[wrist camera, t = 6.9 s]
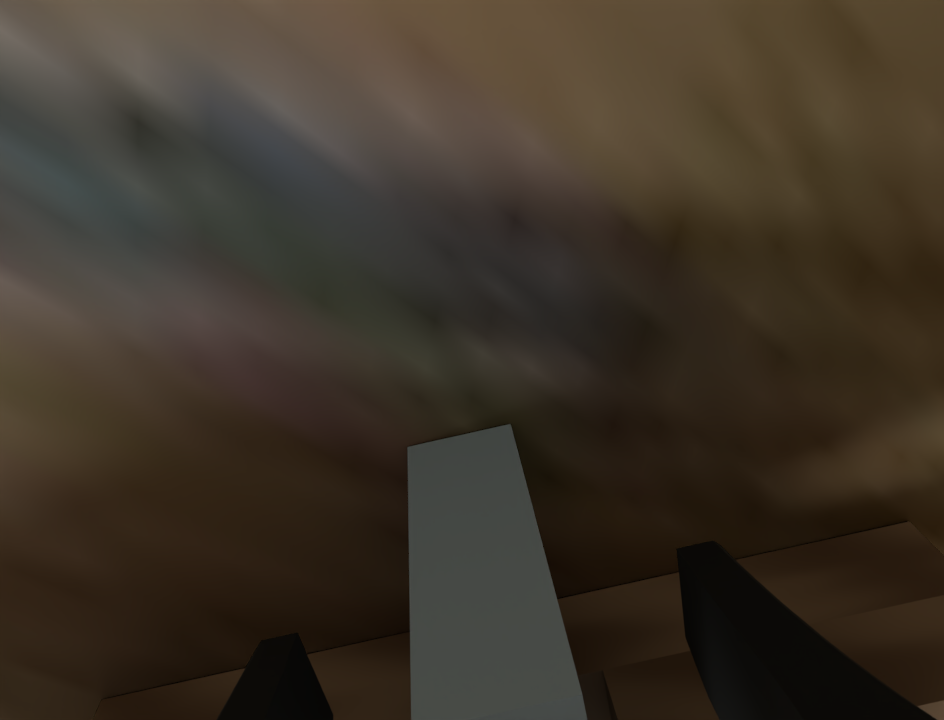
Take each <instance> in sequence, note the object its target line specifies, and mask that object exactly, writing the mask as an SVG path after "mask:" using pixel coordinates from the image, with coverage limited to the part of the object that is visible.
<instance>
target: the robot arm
mask: <svg viewBox="0 0 944 720" xmlns="http://www.w3.org/2000/svg"><path fill="white" fill-rule="evenodd" d="M677 558H678V568H679V578H680V589H681V599H682V609H683V619H684V629H685V638H686V640H687V643H688V646H689V648H690V651H691V654H692V656H693V659H694V662H695V664H696V667H697V670H698V672H699V675H700V677H701V680H702V682H703V685H704V687H705V690H706V692H707V695H708V698H709V700H710V702H711V704H712V706H713V708H714V710H715V712H716V714H717V716H718V718H719V720H937V719H936V718H934V717H933V716H931V715H930V714H928V713H927V712H925V711H924V710H922V709H921V708H919V707H917V706H916V705H914V704H913V703H912V702H910V701H909V700H907V699H906V698H904V697H903V696H901V695H900V694H899V693H897V692H896V691H894V690H893V689H891V688H890V687H889V686H887V685H886V684H884V683H883V682H882V681H880V680H879V679H877V678H876V677H875V676H873V675H872V674H871V673H869V672H868V671H867V670H865V669H864V668H863V667H861V666H860V665H859V664H857V663H856V662H855V661H853V660H852V659H851V658H849V657H848V656H847V655H845V654H844V653H843V652H842V651H840V650H839V649H838V648H837V647H835V646H834V645H833V644H831V643H830V642H829V641H828V640H826V639H825V638H824V637H823V636H822V635H820V634H819V633H818V632H817V631H815V630H814V629H813V628H812V627H811V626H809V625H808V624H807V623H806V622H805V621H803V620H802V619H801V618H800V617H799V616H797V615H796V614H795V613H794V612H792V611H791V610H790V609H789V608H788V607H787V606H786V605H784V604H783V603H782V602H781V601H780V600H779V599H777V598H776V597H775V596H774V595H773V594H772V593H771V592H770V591H769V590H767V589H766V588H765V587H764V586H763V585H762V584H761V583H760V582H758V581H757V580H756V579H755V578H754V577H753V576H752V575H751V574H750V573H749V572H748V571H747V570H746V569H744V568H743V567H742V566H741V565H740V564H739V563H738V562H737V561H736V560H735V559H734V558H733V557H732V556H731V555H730V554H729V553H728V552H727V551H726V550H725V549H724V548H723V547H722V546H721V545H719V544H718V543H716V542H715V541H710V542H705V543H700V544H696V545H691V546H687V547H682V548H678V549H677ZM216 720H333V713H332V710H331V708H330V706H329V703H328V701H327V699H326V697H325V694H324V692H323V690H322V687H321V685H320V683H319V681H318V678H317V676H316V674H315V671H314V669H313V667H312V665H311V662H310V660H309V658H308V656H307V653H306V651H305V649H304V646H303V644H302V642H301V640H300V637H299V635H298V633H294V634H289V635H285V636H280V637H276V638H271V639H267V640H262V641H261V642H260V644H259V645H258V647H257V648H256V650H255V652H254V654H253V655H252V657H251V659H250V661H249V662H248V664H247V666H246V668H245V670H244V671H243V673H242V675H241V677H240V679H239V680H238V682H237V684H236V686H235V688H234V689H233V691H232V693H231V695H230V696H229V698H228V700H227V702H226V704H225V705H224V707H223V709H222V711H221V712H220V714H219V716H218V718H217V719H216Z"/></svg>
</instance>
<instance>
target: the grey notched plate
mask: <svg viewBox="0 0 944 720" xmlns="http://www.w3.org/2000/svg"><path fill="white" fill-rule="evenodd" d="M407 450H408V523H409V596H410V668H411V720H587V715H586V710H585V705H584V700H583V695H582V691H581V688H580V684H579V680H578V676H577V672H576V669H575V665H574V661H573V657H572V654H571V650H570V646H569V642H568V639H567V635H566V631H565V627H564V623H563V620H562V616H561V612H560V608H559V605H558V601H557V597H556V593H555V589H554V586H553V582H552V578H551V574H550V571H549V567H548V563H547V559H546V555H545V552H544V548H543V544H542V540H541V537H540V533H539V529H538V525H537V522H536V518H535V514H534V510H533V506H532V503H531V499H530V495H529V491H528V488H527V484H526V480H525V476H524V472H523V469H522V465H521V461H520V457H519V454H518V450H517V446H516V442H515V438H514V435H513V431H512V427H511V424H508V425H503V426H499V427H494V428H490V429H485V430H481V431H476V432H472V433H467V434H463V435H459V436H454V437H450V438H445V439H441V440H436V441H432V442H427V443H423V444H418V445H414V446H409V447H407Z"/></svg>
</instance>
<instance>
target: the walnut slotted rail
mask: <svg viewBox="0 0 944 720" xmlns="http://www.w3.org/2000/svg"><path fill="white" fill-rule="evenodd" d="M736 561H737V562H738V563H739V564H740V565H741V566H742V567H743V568H744V569H746V570H747V571H748V572H749V573H750V574H751V575H752V576H753V577H754V578H755V579H756V580H757V581H758V582H760V583H761V584H762V585H763V586H764V587H765V588H766V589H767V590H769V591H770V592H771V593H772V594H773V595H774V596H775V597H776V598H777V599H779V600H780V601H781V602H782V603H783V604H784V605H786V606H787V607H788V608H789V609H790V610H791V611H792V612H794V613H795V614H796V615H797V616H799V617H800V618H801V619H802V620H803V621H805V622H806V623H807V624H808V625H809V626H811V627H812V628H813V629H814V630H815V631H817V632H818V633H819V634H820V635H822V636H823V637H824V638H825V639H826V640H828V641H829V642H830V643H831V644H833V645H834V646H835V647H837V648H838V649H839V650H840V651H842V652H843V653H844V654H845V655H847V656H848V657H849V658H851V659H852V660H853V661H855V662H856V663H857V664H859V665H860V666H861V667H863V668H864V669H865V670H867V671H868V672H869V673H871V674H872V675H873V676H875V677H876V678H877V679H879V680H880V681H882V682H883V683H884V684H886V685H887V686H889V687H890V688H891V689H893V690H894V691H896V692H897V693H899V694H900V695H901V696H903V697H904V698H906V699H907V700H909V701H910V702H912V703H913V704H914V705H916V706H917V707H919V708H921V709H922V710H924V711H925V712H927V713H928V714H930V715H931V716H933V717H934V718H936V719H937V720H944V555H943V554H942V553H941V552H940V551H939V550H938V549H937V548H936V547H935V546H934V545H933V544H932V543H931V542H930V541H929V540H928V539H927V538H926V537H925V536H924V535H923V534H922V533H921V532H920V531H919V530H918V529H917V528H916V527H915V526H914V525H913V524H912V523H911V522H910V521H909V522H905V523H900V524H896V525H891V526H886V527H882V528H877V529H873V530H868V531H864V532H859V533H855V534H850V535H846V536H841V537H837V538H832V539H828V540H823V541H819V542H814V543H809V544H805V545H800V546H796V547H791V548H787V549H782V550H778V551H773V552H769V553H764V554H760V555H755V556H751V557H746V558H742V559H737V560H736ZM557 601H558V605H559V608H560V612H561V616H562V620H563V623H564V627H565V631H566V635H567V639H568V642H569V646H570V650H571V654H572V657H573V661H574V665H575V669H576V672H577V676H578V680H579V684H580V688H581V691H582V695H583V700H584V705H585V710H586V715H587V720H719V718H718V716H717V714H716V712H715V710H714V708H713V706H712V704H711V702H710V700H709V698H708V695H707V692H706V690H705V687H704V685H703V682H702V680H701V677H700V675H699V672H698V670H697V667H696V664H695V662H694V659H693V656H692V654H691V651H690V648H689V646H688V643H687V640H686V638H685V629H684V619H683V609H682V599H681V589H680V578H679V572H678V573H674V574H669V575H665V576H660V577H656V578H651V579H646V580H642V581H637V582H633V583H628V584H624V585H619V586H615V587H610V588H606V589H601V590H597V591H592V592H588V593H583V594H579V595H574V596H569V597H565V598H560V599H557ZM307 656H308V658H309V660H310V662H311V665H312V667H313V669H314V671H315V674H316V676H317V678H318V681H319V683H320V685H321V687H322V690H323V692H324V694H325V697H326V699H327V701H328V703H329V706H330V708H331V710H332V713H333V720H411V668H410V632H406V633H402V634H397V635H393V636H388V637H384V638H379V639H375V640H370V641H366V642H361V643H357V644H352V645H348V646H343V647H339V648H334V649H329V650H325V651H320V652H316V653H311V654H307ZM244 670H245V668H243V669H239V670H234V671H230V672H225V673H221V674H216V675H212V676H207V677H203V678H198V679H194V680H189V681H185V682H180V683H176V684H171V685H166V686H162V687H157V688H153V689H148V690H144V691H139V692H135V693H130V694H126V695H121V696H117V697H112V698H108V699H103V700H101V702H100V704H99V707H98V709H97V711H96V714H95V716H94V718H93V720H216V719H217V718H218V716H219V714H220V712H221V711H222V709H223V707H224V705H225V704H226V702H227V700H228V698H229V696H230V695H231V693H232V691H233V689H234V688H235V686H236V684H237V682H238V680H239V679H240V677H241V675H242V673H243V671H244Z"/></svg>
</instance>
